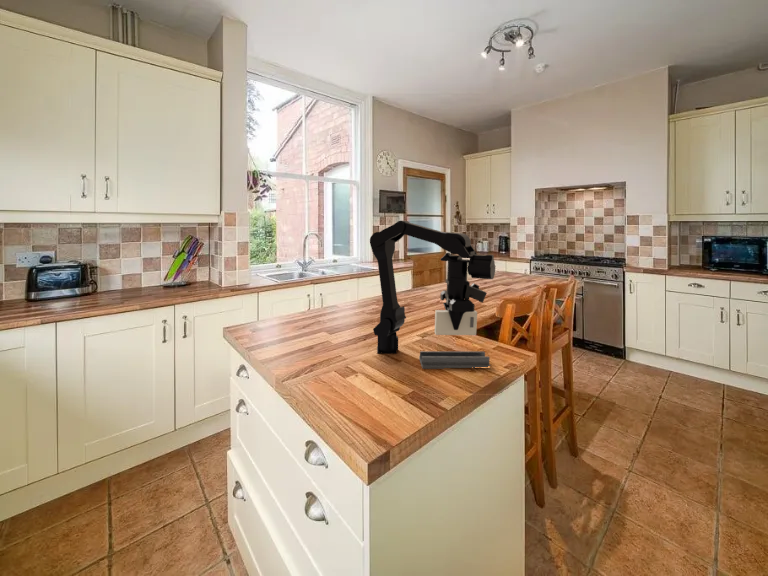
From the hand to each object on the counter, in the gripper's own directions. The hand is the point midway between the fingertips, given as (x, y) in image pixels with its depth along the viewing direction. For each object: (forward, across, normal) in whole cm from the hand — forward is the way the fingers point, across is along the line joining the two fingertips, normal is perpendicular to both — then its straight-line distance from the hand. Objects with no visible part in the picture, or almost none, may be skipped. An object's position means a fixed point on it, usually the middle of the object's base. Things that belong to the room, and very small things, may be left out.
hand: (454, 328), depth 107 cm
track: (+11, 0, 0) cm, 11 cm away
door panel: (+2, 0, 0) cm, 2 cm away
